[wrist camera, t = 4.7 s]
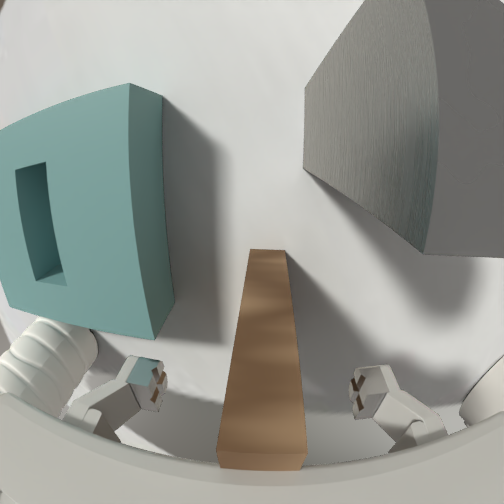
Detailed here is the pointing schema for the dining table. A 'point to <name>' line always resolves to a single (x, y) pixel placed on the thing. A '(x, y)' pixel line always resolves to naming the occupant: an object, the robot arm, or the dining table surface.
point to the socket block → (87, 213)
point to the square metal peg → (416, 121)
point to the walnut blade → (264, 375)
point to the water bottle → (47, 363)
